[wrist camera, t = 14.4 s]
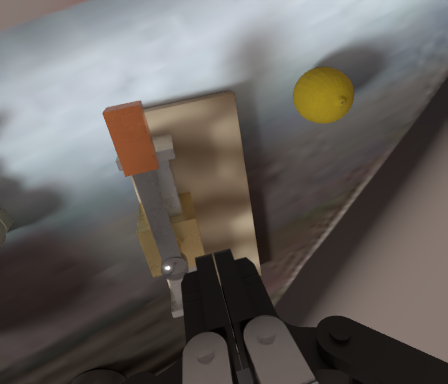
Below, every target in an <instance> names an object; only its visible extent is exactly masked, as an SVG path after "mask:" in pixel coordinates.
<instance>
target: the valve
mask: <svg viewBox="0 0 448 384" xmlns="http://www.w3.org/2000/svg"><path fill="white" fill-rule="evenodd" d="M13 223H14V221H13V219H12V218H11V217H10V216H9V215H8V213H7V212H6V211H5V210H4V209H0V247H1V246H2V245H3V243H4V241H5V238H6V233H7V232H8V230H9V229H10V227H11V226H12V225H13Z"/></svg>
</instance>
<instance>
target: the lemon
mask: <svg viewBox="0 0 448 384" xmlns="http://www.w3.org/2000/svg"><path fill="white" fill-rule="evenodd" d="M293 100H294V104H295V107H296V109H297V110H298V112H299V113H300V114H301V115H302V116H303V117H304V118H306V119H307V120H310V121H312V122H315V123H331V122H334V121H337V120H339V119H340V118H342V117H343V116H344V115H345V114H346V113H347V112H348V111H349V109H350V108H351V106H352V103H353V100H354V88H353V85H352V83H351V81H350V80H349V78H348V77H347V76H346V75H345V74H343V73H342V72H340V71H339V70H337V69H334V68H330V67H318V68H314V69H311V70H309V71H308V72H306V73H305V74H304V75H303V76H301V77H300V79H299V80H298V82H297V83H296V85H295V88H294V92H293Z"/></svg>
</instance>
